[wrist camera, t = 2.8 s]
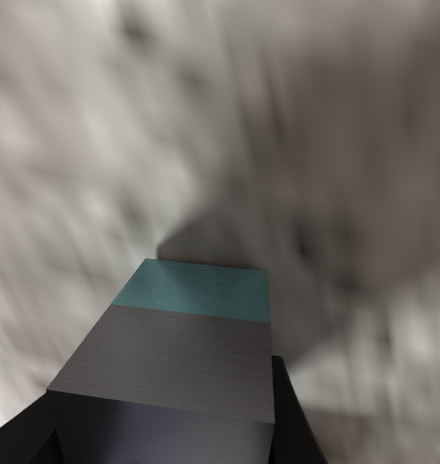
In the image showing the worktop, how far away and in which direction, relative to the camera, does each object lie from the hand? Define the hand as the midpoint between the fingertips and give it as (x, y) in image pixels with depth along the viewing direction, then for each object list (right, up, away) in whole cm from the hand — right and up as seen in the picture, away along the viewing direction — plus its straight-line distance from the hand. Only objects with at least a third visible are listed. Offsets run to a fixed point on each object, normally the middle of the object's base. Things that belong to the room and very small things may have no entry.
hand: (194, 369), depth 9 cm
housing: (0, +1, +1) cm, 2 cm away
